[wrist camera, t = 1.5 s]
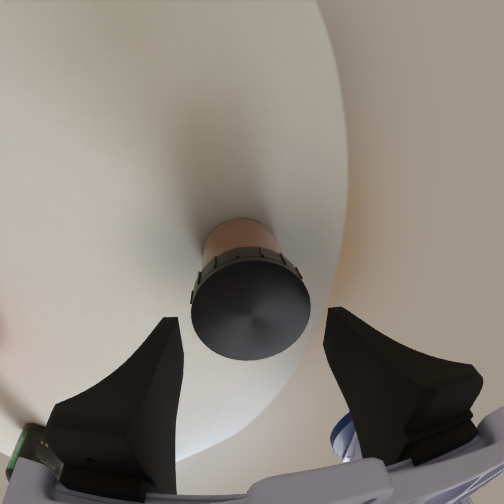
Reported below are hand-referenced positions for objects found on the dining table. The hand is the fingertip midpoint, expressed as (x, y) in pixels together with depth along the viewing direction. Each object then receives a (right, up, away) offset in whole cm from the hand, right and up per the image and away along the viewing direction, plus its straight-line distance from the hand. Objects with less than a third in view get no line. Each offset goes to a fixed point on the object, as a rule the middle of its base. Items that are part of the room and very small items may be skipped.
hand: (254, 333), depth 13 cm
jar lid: (0, +1, +2) cm, 2 cm away
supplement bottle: (-27, -21, +15) cm, 38 cm away
